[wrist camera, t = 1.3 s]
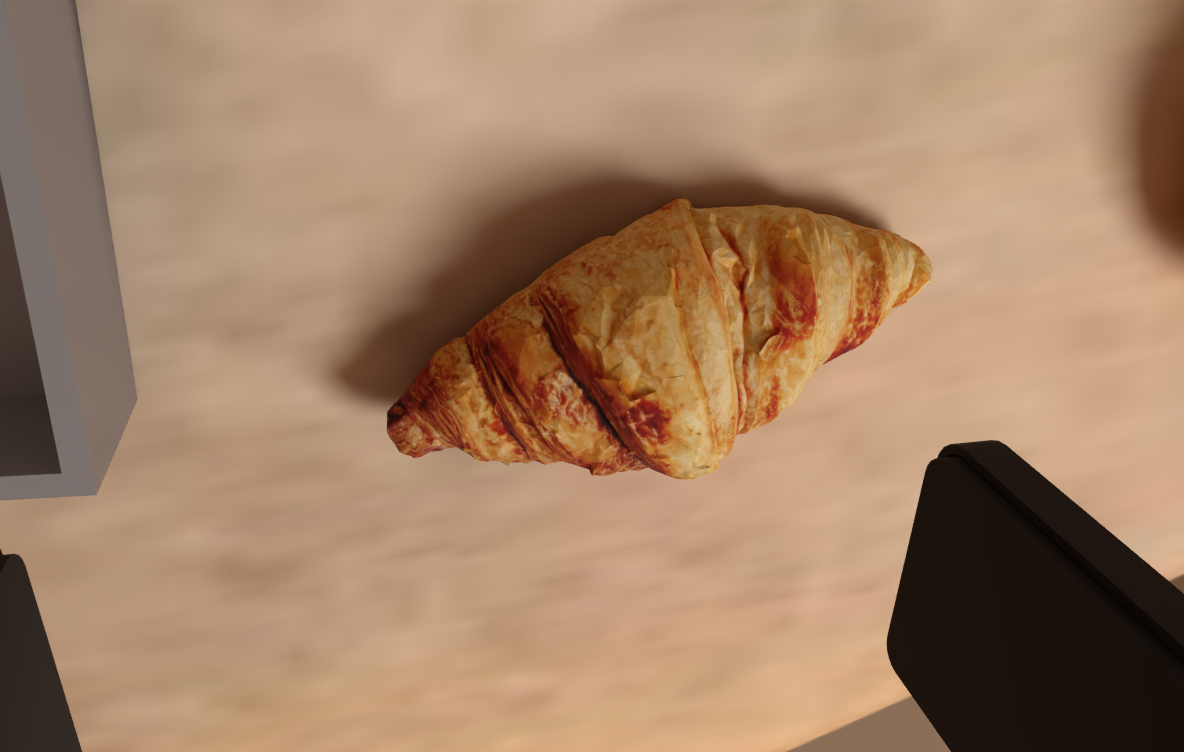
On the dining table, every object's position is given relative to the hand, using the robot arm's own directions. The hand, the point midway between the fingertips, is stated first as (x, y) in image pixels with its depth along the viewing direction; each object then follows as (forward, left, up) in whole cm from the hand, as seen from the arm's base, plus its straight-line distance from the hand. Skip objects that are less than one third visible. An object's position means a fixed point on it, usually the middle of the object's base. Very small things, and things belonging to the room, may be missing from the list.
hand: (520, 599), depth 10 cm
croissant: (+7, +9, -24) cm, 27 cm away
